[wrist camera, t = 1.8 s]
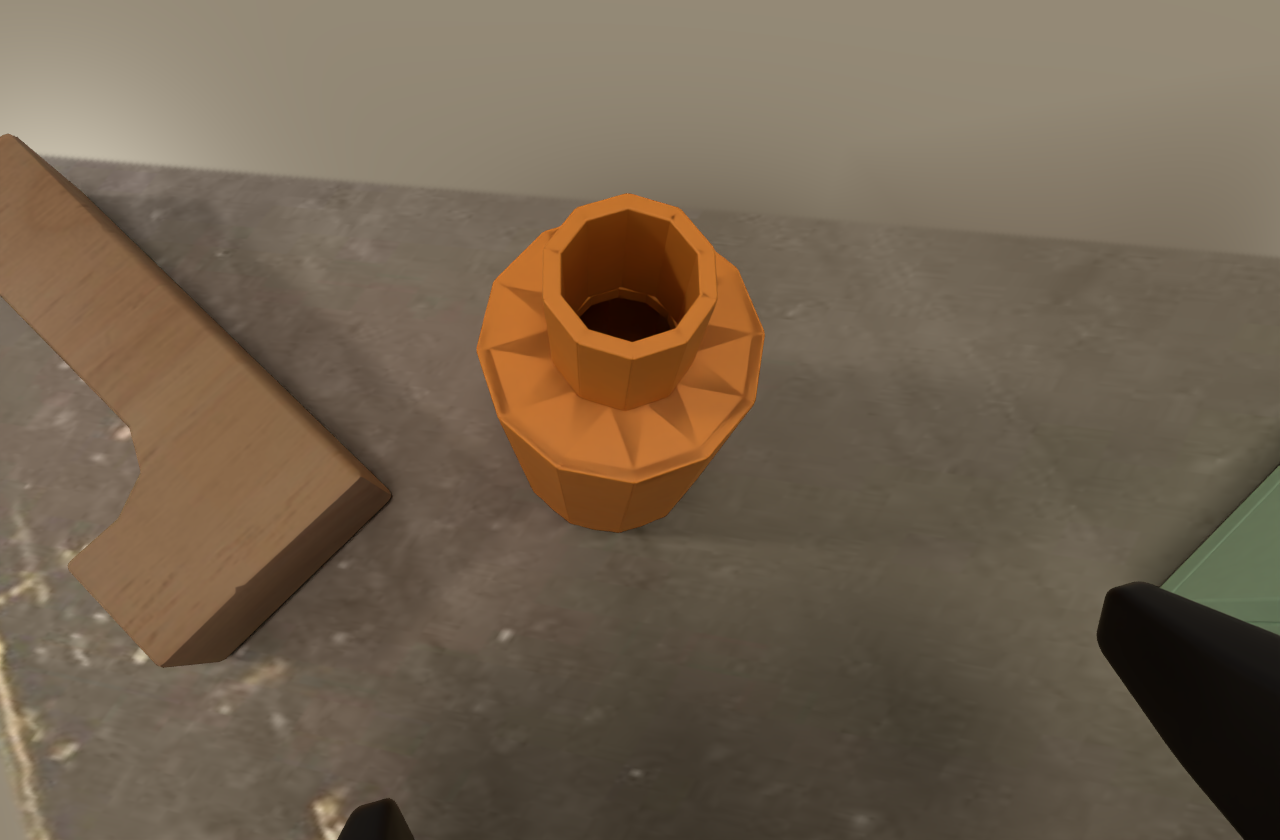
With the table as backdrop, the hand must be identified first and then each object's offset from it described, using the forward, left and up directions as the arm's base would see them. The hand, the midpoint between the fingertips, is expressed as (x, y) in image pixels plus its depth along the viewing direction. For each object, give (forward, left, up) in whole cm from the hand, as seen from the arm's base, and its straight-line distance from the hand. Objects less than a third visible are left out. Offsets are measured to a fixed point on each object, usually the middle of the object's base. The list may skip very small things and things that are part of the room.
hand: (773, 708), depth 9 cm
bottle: (+7, -1, -13) cm, 15 cm away
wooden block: (+5, +9, -12) cm, 16 cm away
